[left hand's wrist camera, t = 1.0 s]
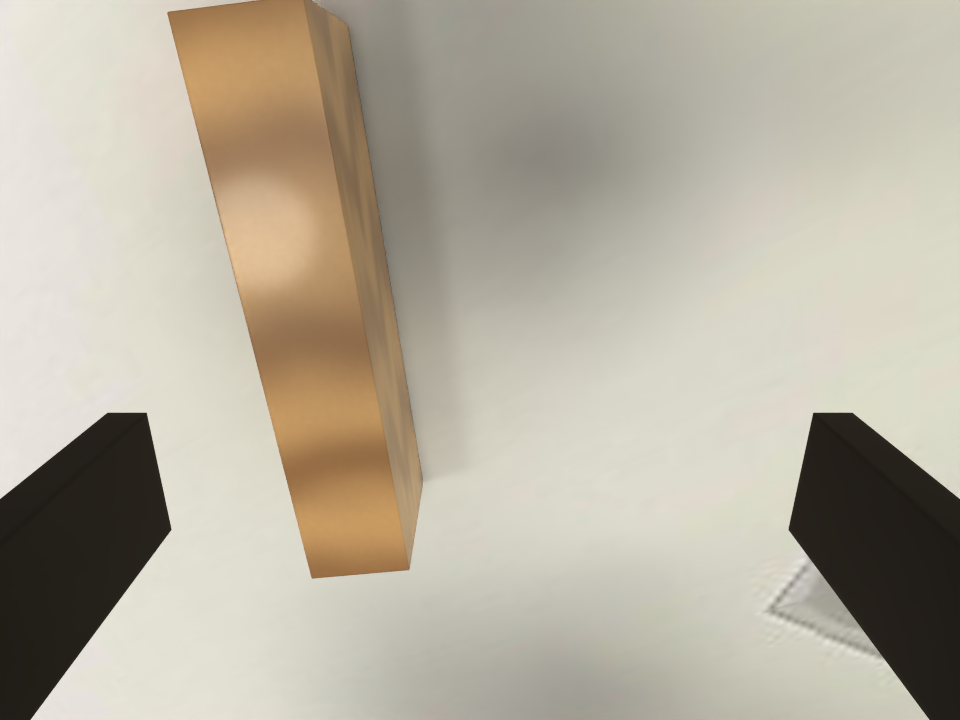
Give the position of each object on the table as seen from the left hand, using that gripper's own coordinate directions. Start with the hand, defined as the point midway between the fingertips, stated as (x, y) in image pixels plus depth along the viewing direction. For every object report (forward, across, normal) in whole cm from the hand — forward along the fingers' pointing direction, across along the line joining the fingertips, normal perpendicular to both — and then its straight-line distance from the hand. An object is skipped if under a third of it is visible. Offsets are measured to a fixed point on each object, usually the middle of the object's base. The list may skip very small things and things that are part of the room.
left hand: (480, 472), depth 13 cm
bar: (+23, -8, -2) cm, 24 cm away
